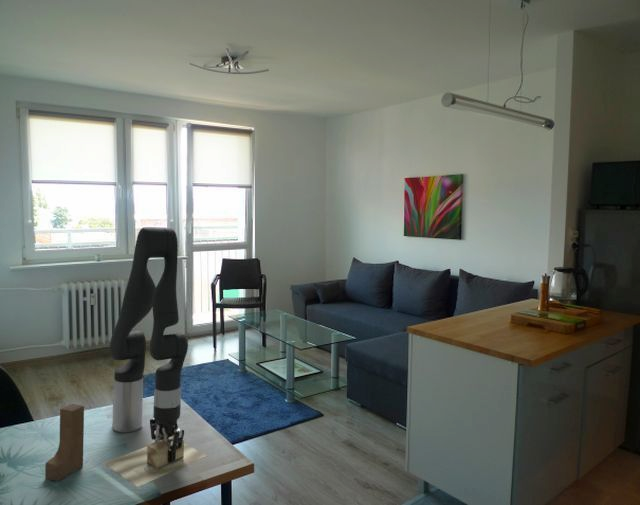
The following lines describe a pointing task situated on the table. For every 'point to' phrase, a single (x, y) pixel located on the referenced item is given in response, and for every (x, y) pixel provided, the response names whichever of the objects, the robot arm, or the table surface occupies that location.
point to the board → (142, 473)
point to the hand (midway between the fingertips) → (165, 458)
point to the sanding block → (161, 454)
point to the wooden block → (68, 444)
